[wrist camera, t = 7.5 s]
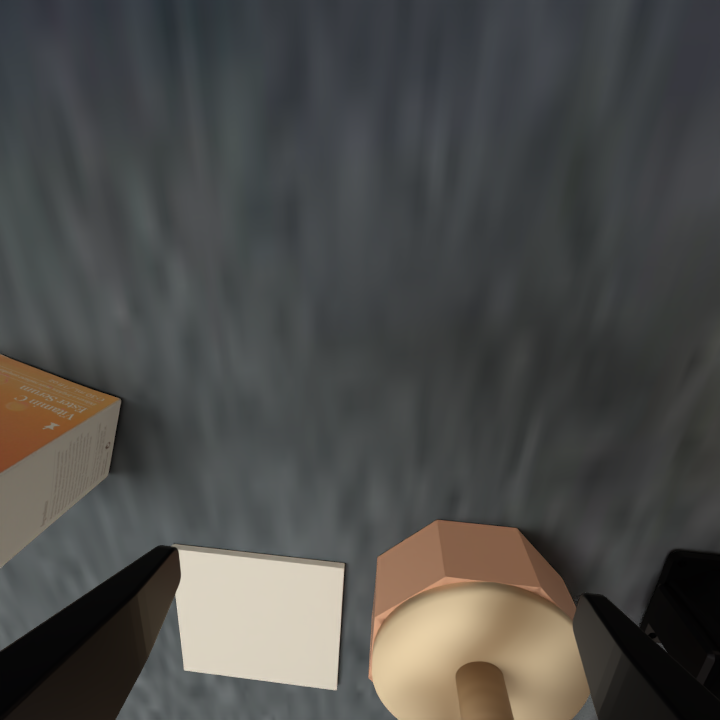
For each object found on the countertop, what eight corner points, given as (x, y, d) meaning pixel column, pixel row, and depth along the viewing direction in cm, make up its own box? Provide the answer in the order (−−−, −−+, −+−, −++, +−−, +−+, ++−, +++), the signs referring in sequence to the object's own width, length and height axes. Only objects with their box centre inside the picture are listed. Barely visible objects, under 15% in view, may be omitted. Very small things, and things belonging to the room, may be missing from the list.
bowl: (574, 533, 23) (610, 595, 19) (535, 668, 26) (559, 742, 23) (381, 513, 23) (379, 569, 20) (368, 647, 27) (364, 716, 23)
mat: (344, 563, 25) (343, 568, 24) (337, 684, 28) (336, 690, 28) (173, 543, 25) (170, 548, 25) (187, 664, 29) (184, 670, 29)
